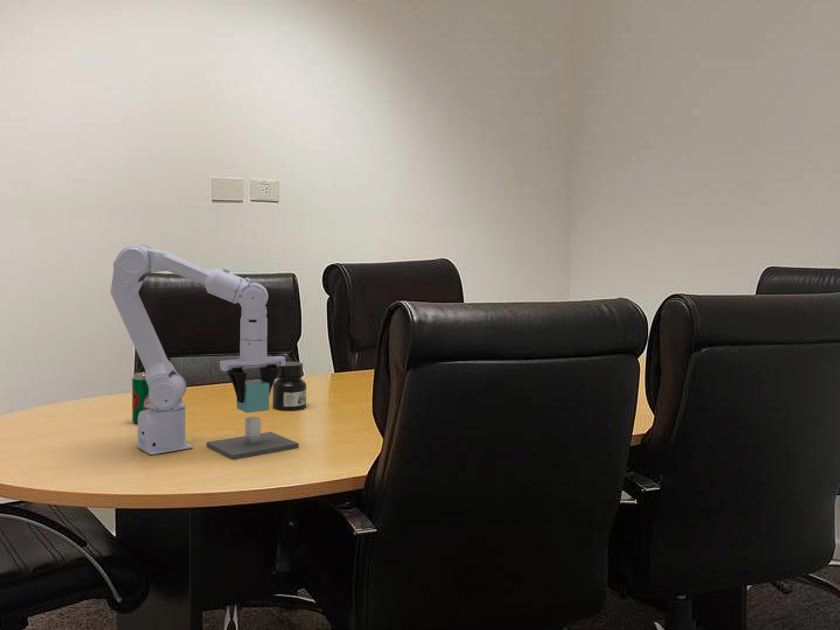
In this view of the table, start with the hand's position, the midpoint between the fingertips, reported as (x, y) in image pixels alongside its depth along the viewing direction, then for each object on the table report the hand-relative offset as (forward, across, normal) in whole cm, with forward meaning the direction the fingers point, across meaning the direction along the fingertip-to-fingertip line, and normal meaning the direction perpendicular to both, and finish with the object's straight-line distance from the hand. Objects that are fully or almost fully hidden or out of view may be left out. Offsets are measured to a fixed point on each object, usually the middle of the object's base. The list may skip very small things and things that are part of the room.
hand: (253, 400), depth 171 cm
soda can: (+11, +13, -33) cm, 37 cm away
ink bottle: (+11, -25, -31) cm, 41 cm away
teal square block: (+2, 0, 0) cm, 2 cm away
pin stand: (+10, 0, 0) cm, 10 cm away
